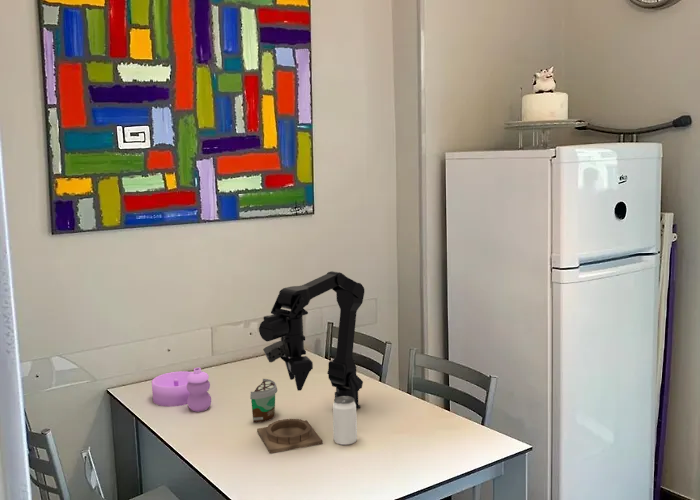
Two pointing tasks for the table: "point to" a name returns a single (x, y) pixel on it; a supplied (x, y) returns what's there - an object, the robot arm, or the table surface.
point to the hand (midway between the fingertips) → (295, 384)
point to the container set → (182, 389)
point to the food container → (263, 401)
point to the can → (344, 420)
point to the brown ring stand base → (288, 435)
